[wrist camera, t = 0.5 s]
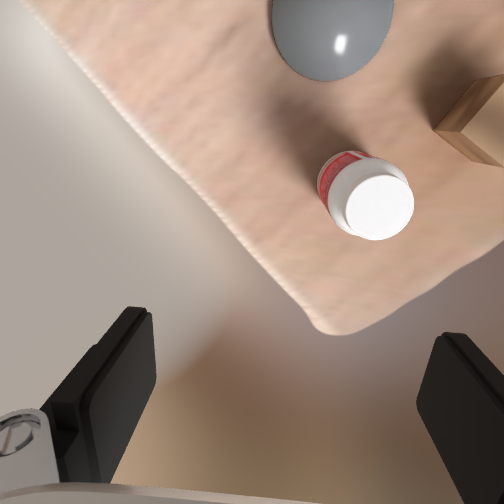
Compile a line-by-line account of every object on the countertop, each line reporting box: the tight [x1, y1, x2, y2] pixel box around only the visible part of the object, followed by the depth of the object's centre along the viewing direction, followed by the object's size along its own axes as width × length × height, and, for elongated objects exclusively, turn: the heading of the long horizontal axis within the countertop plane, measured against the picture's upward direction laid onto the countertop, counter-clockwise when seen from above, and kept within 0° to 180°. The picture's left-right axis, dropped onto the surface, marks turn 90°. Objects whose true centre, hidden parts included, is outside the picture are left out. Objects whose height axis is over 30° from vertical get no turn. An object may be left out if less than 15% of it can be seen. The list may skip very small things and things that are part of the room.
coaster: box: [272, 0, 394, 81], centre depth 27 cm, size 10×10×1 cm
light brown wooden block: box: [433, 74, 504, 168], centre depth 27 cm, size 5×5×5 cm
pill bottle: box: [317, 151, 414, 240], centre depth 27 cm, size 6×6×11 cm
